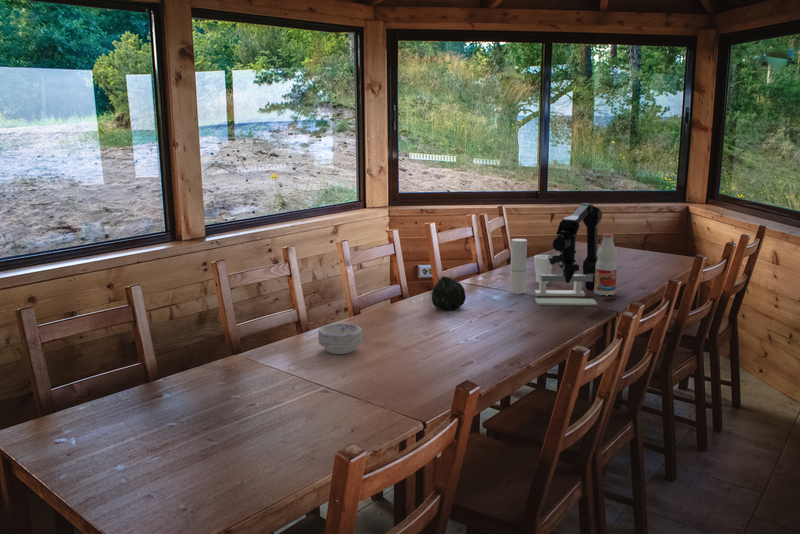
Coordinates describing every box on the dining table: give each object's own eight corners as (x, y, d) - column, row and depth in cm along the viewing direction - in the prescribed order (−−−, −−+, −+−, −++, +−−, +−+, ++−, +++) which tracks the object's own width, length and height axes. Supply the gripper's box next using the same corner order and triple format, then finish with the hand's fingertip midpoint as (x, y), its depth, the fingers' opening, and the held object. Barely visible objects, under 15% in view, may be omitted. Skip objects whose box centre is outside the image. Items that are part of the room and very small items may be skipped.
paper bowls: (362, 342, 230) (362, 321, 229) (361, 357, 215) (361, 335, 214) (320, 343, 230) (320, 322, 228) (316, 358, 215) (316, 336, 213)
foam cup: (547, 285, 310) (548, 259, 307) (530, 282, 316) (531, 257, 313) (555, 281, 318) (556, 256, 315) (538, 278, 323) (539, 254, 320)
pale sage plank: (593, 300, 283) (593, 298, 282) (597, 305, 275) (597, 303, 275) (534, 299, 284) (534, 298, 284) (537, 304, 276) (537, 303, 276)
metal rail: (591, 279, 278) (591, 274, 278) (592, 281, 275) (593, 276, 275) (540, 279, 280) (541, 274, 279) (541, 281, 277) (542, 275, 276)
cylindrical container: (524, 290, 301) (526, 238, 296) (525, 293, 294) (527, 241, 289) (509, 289, 302) (510, 238, 297) (510, 293, 295) (512, 241, 290)
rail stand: (582, 292, 295) (583, 274, 293) (585, 296, 290) (586, 277, 288) (534, 292, 297) (535, 273, 295) (536, 295, 291) (537, 276, 289)
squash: (474, 292, 276) (451, 267, 276) (468, 303, 262) (444, 276, 262) (450, 311, 281) (428, 286, 281) (443, 322, 267) (420, 296, 267)
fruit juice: (607, 290, 300) (610, 232, 293) (619, 295, 291) (623, 235, 285) (589, 292, 297) (593, 233, 291) (601, 297, 288) (605, 236, 282)
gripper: (546, 243, 284) (544, 277, 287) (553, 251, 265) (551, 287, 269) (571, 243, 283) (569, 277, 286) (580, 251, 265) (578, 287, 268)
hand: (566, 282), depth 278 cm, fingers closed on metal rail, 3 cm apart
